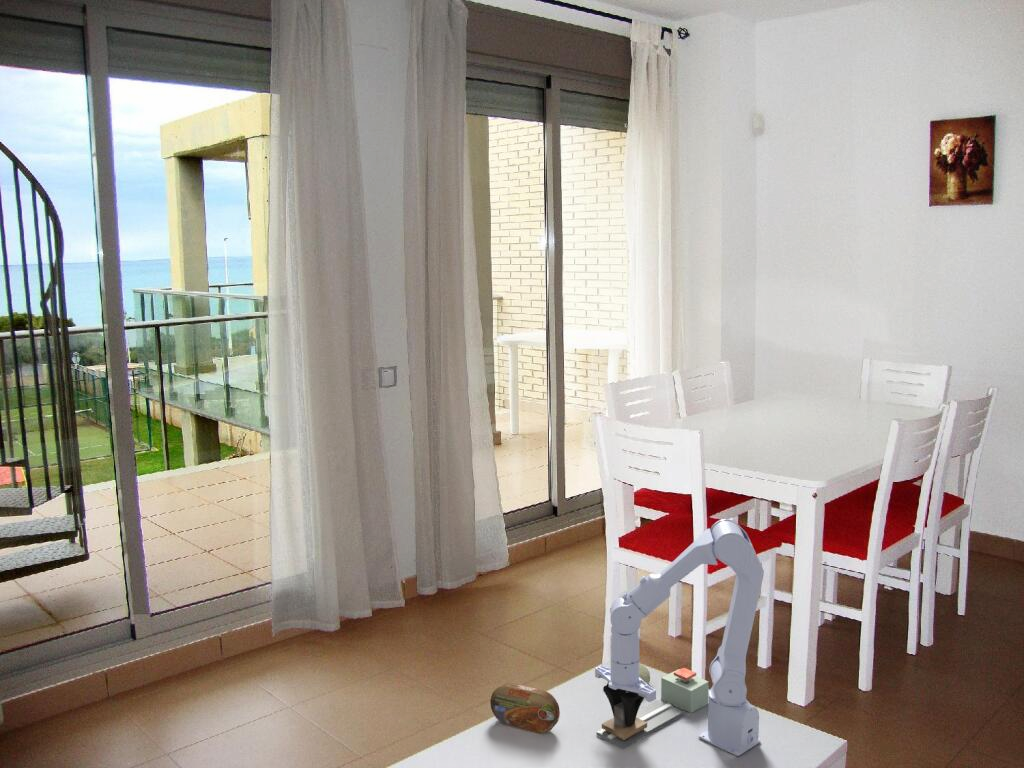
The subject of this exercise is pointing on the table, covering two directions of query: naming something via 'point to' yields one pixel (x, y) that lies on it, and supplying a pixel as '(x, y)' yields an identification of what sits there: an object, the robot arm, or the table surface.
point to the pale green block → (684, 692)
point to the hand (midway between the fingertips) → (624, 721)
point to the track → (655, 717)
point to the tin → (525, 708)
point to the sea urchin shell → (644, 673)
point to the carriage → (622, 724)
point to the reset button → (685, 675)
